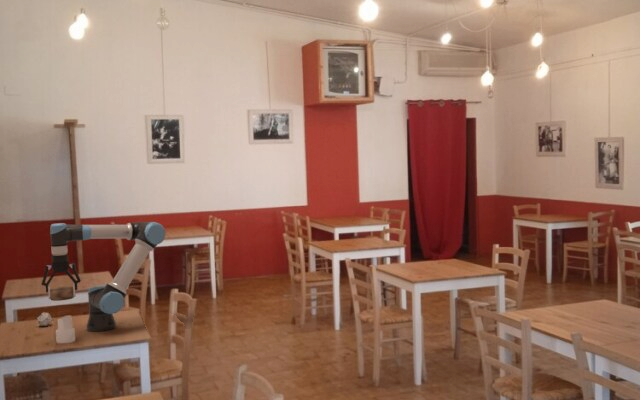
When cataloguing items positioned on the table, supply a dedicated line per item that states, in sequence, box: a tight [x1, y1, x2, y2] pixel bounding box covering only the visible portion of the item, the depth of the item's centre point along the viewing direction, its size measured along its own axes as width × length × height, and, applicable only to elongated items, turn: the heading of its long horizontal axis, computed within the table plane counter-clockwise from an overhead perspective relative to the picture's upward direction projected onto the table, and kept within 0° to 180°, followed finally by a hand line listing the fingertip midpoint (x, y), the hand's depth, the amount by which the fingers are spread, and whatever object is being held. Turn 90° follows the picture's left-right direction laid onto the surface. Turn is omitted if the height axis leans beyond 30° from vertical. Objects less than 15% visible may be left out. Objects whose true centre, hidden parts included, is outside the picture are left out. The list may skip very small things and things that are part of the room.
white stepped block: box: [55, 315, 76, 344], centre depth 339 cm, size 9×9×12 cm
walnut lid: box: [50, 286, 75, 302], centre depth 339 cm, size 11×11×5 cm
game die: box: [35, 311, 53, 328], centre depth 375 cm, size 9×8×10 cm
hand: (62, 297), depth 339 cm, fingers closed on walnut lid, 11 cm apart
